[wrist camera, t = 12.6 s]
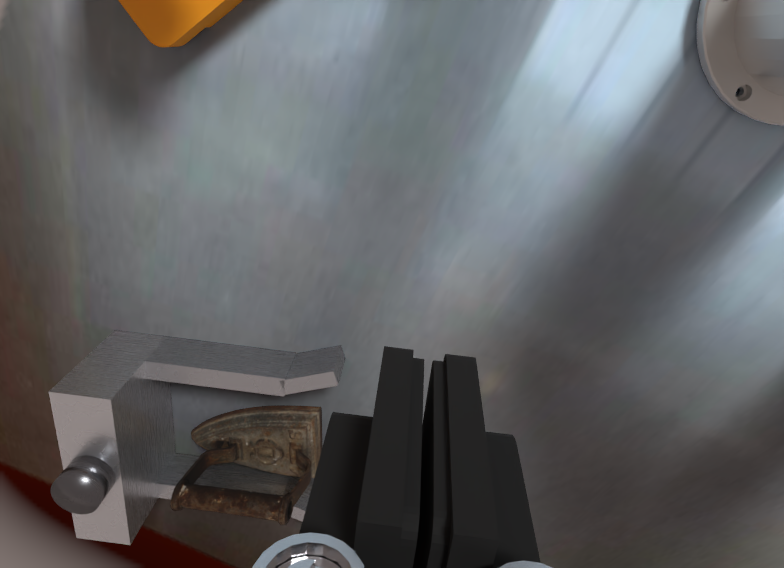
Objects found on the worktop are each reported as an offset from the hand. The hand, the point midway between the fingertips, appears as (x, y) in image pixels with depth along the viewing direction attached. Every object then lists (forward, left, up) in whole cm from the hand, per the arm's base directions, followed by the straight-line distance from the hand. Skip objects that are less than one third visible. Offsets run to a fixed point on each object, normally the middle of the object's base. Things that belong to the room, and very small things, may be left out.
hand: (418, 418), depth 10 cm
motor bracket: (+13, +23, -27) cm, 38 cm away
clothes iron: (+11, +25, -28) cm, 39 cm away
